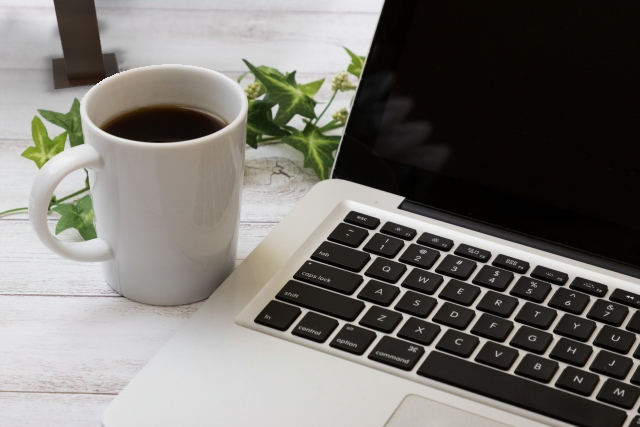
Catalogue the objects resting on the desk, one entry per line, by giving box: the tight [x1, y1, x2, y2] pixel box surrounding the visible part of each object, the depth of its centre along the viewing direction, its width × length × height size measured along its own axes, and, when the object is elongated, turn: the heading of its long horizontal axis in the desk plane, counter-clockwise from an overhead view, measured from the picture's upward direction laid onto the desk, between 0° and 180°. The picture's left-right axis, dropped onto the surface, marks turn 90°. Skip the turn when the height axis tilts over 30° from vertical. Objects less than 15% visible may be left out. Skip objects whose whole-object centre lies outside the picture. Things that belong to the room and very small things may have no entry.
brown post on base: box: [51, 0, 120, 90], centre depth 80 cm, size 14×7×18 cm, turn 17°
